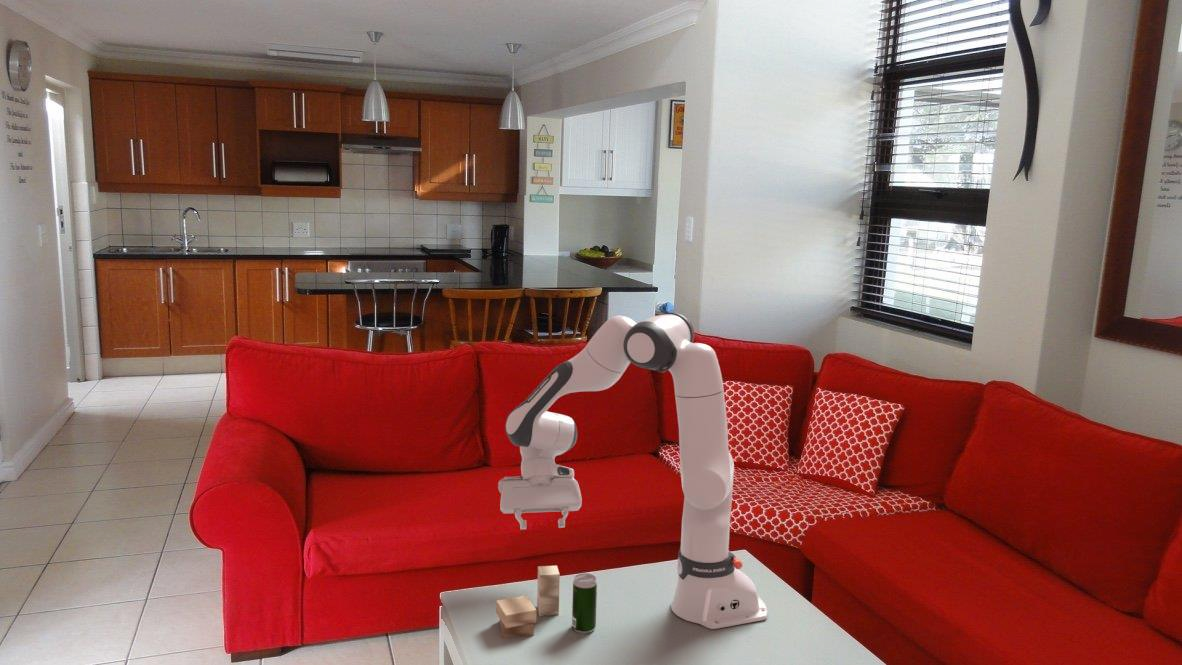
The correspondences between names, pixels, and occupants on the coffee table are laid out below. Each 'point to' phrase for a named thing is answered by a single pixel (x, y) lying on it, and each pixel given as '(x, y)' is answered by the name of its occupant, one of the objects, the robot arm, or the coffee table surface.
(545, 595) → the tan block
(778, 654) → the coffee table surface
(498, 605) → the oak block
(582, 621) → the beer can
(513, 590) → the coffee table surface
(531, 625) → the light brown flat block
